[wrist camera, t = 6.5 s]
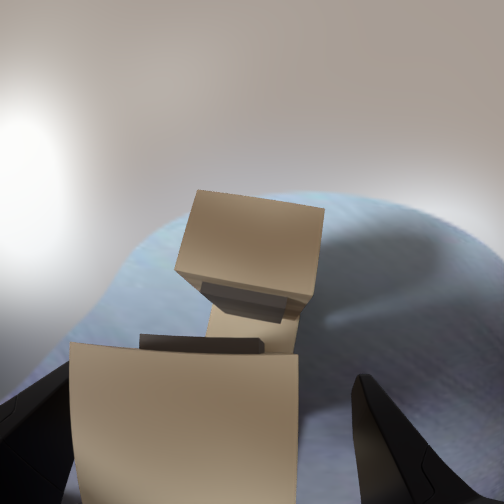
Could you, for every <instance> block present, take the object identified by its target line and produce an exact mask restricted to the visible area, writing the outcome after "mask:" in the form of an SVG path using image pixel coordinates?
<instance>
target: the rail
mask: <svg viewBox="0 0 504 504" xmlns="http://www.w3.org/2000/svg"><path fill="white" fill-rule="evenodd" d="M324 211H325V209H324V208H318V207H312V206H306V205H300V204H294V203H288V202H282V201H276V200H269V199H263V198H256V197H249V196H242V195H235V194H228V193H220V192H212V191H204V190H197V193H196V196H195V199H194V203H193V206H192V209H191V212H190V216H189V219H188V222H187V226H186V229H185V233H184V236H183V240H182V243H181V247H180V250H179V254H178V257H177V261H176V265H175V269H174V270H175V271H176V272H177V273H178V274H179V275H181V276H182V277H183V278H184V279H185V280H186V281H187V282H189V283H190V284H191V285H192V286H193V287H194V288H196V289H197V290H198V291H199V292H200V293H201V294H202V295H204V296H205V297H206V298H207V299H208V300H209V301H211V302H212V303H213V305H212V309H211V314H210V318H209V323H208V327H207V332H206V336H205V337H233V338H258V337H259V338H260V339H261V340H262V341H263V342H264V343H265V352H283V353H290V354H293V350H294V345H295V339H296V334H297V329H298V323H299V318H300V313H301V311H302V310H303V309H304V307H305V306H306V305H307V303H308V302H309V301H310V299H311V298H312V296H313V293H314V286H315V280H316V273H317V266H318V259H319V251H320V244H321V236H322V228H323V220H324Z"/></svg>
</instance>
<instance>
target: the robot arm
mask: <svg viewBox="0 0 504 504" xmlns="http://www.w3.org/2000/svg"><path fill="white" fill-rule="evenodd" d="M351 401H352V429H353V441H354V448H355V455H356V462H357V470H358V478H359V486H360V495H361V504H504V502H503V501H498V500H493V499H489V498H486V497H483V496H481V495H480V494H478V493H476V492H475V491H474V490H473V489H472V488H471V487H469V486H468V485H467V484H466V483H465V482H464V481H463V480H462V479H461V478H460V477H459V476H458V475H457V474H456V473H454V472H453V471H452V470H451V469H450V468H449V467H448V466H447V465H446V464H445V463H444V462H443V460H442V459H441V458H440V457H439V456H438V455H437V454H436V452H435V451H434V450H433V449H432V448H431V446H430V445H428V443H427V442H426V440H425V439H424V438H423V437H422V436H421V434H420V433H419V432H418V431H417V430H416V428H415V427H414V426H413V425H412V424H411V422H410V421H409V420H408V419H407V418H406V416H405V415H404V414H403V413H402V412H401V410H400V409H399V408H398V407H397V406H396V404H395V403H394V402H393V401H392V400H391V398H390V397H389V396H388V395H387V394H386V392H385V391H384V390H383V389H382V388H381V386H380V385H379V384H378V383H377V382H376V381H375V379H374V378H373V377H372V376H371V375H370V374H359V375H358V376H357V377H356V380H355V383H354V385H353V388H352V392H351ZM74 459H75V457H74V449H73V440H72V429H71V415H70V392H69V361H68V362H66V363H65V364H63V365H61V366H60V367H58V368H57V369H55V370H54V371H52V372H51V373H49V374H48V375H46V376H45V377H43V378H42V379H40V380H39V381H37V382H36V383H34V384H33V385H31V386H29V387H28V388H26V389H25V390H23V391H22V392H20V393H19V394H18V395H16V396H14V397H13V398H11V399H10V400H8V401H6V402H5V403H3V404H2V405H0V504H61V501H62V497H63V494H64V490H65V487H66V483H67V480H68V477H69V474H70V471H71V468H72V465H73V462H74Z"/></svg>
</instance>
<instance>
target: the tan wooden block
mask: <svg viewBox="0 0 504 504" xmlns="http://www.w3.org/2000/svg"><path fill="white" fill-rule="evenodd" d="M69 392H70V415H71V429H72V440H73V449H74V457H75V465H76V471H77V478H78V483H79V489H80V494H81V499H82V504H296V483H297V454H298V355H297V354H290V353H283V352H265V343H264V342H263V341H262V340H261V339H260V338H259V337H258V338H233V337H190V336H168V335H151V334H140V342H139V349H137V348H124V347H112V346H102V345H93V344H84V343H76V342H70V355H69Z"/></svg>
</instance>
